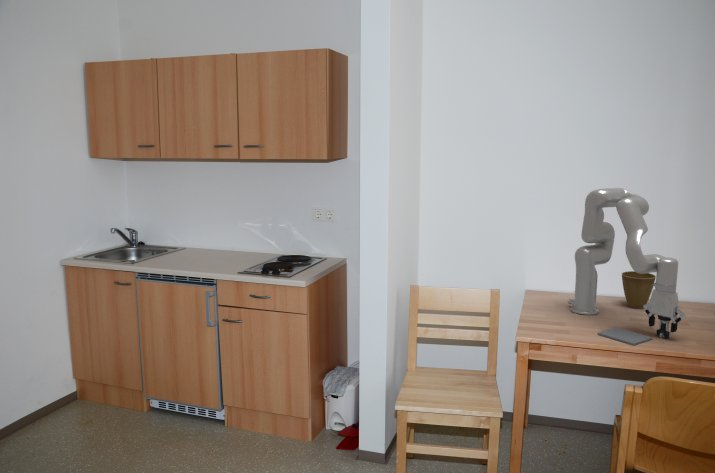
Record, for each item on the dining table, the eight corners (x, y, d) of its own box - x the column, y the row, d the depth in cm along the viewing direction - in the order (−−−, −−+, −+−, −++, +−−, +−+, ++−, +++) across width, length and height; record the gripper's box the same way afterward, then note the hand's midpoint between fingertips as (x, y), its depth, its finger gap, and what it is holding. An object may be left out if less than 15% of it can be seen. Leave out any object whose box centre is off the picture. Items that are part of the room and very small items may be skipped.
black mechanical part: (650, 335, 242) (651, 311, 240) (658, 333, 244) (660, 310, 243) (665, 339, 236) (667, 316, 234) (673, 337, 238) (675, 314, 237)
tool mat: (597, 334, 242) (597, 332, 242) (616, 329, 249) (616, 327, 249) (633, 345, 229) (633, 343, 229) (652, 339, 236) (652, 337, 236)
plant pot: (614, 302, 291) (616, 271, 288) (644, 302, 291) (646, 271, 288) (627, 310, 276) (630, 278, 274) (659, 310, 276) (661, 278, 274)
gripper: (640, 285, 242) (637, 325, 245) (682, 293, 227) (678, 336, 230) (650, 282, 246) (647, 322, 249) (692, 291, 232) (688, 333, 234)
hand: (662, 328), depth 239 cm, fingers open, 8 cm apart
